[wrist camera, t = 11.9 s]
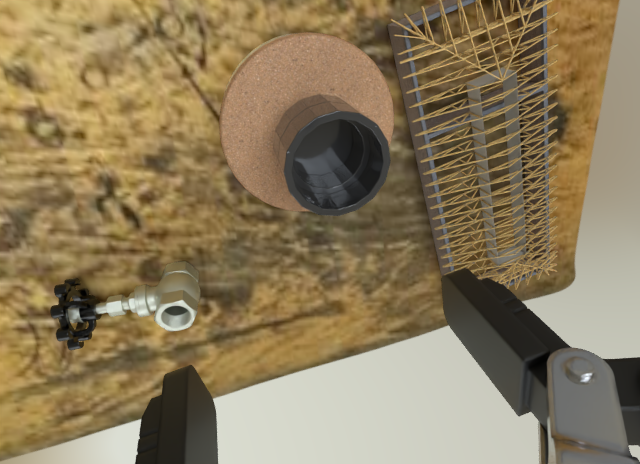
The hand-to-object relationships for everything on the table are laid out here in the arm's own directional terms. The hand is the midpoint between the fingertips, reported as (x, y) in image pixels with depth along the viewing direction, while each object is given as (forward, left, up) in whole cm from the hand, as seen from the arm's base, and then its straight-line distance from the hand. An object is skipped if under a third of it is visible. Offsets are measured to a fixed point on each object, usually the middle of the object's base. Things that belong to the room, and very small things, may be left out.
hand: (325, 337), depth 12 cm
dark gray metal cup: (+4, 0, -17) cm, 17 cm away
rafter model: (+22, -11, -28) cm, 37 cm away
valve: (-16, -13, -28) cm, 34 cm away
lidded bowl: (+4, 0, -28) cm, 28 cm away
